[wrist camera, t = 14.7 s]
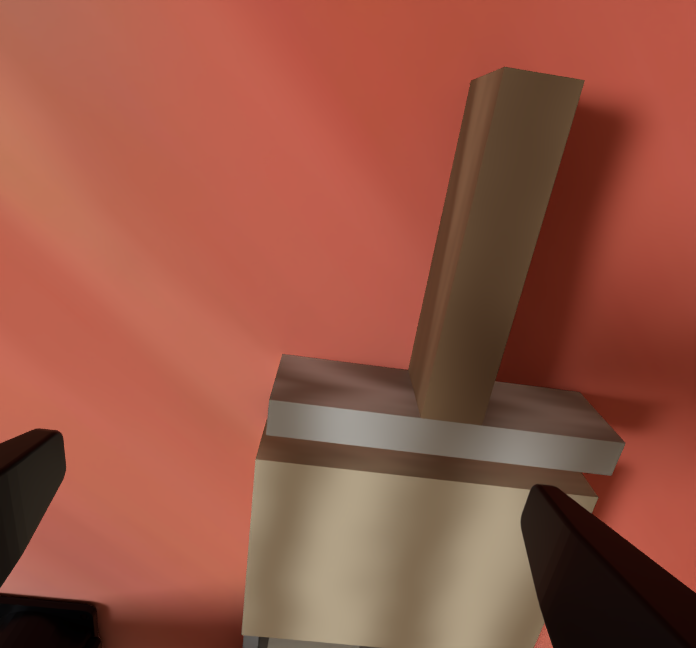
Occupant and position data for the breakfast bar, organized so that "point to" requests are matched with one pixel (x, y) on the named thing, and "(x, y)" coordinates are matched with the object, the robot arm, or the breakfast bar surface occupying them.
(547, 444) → the scraper
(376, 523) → the deck
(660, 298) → the breakfast bar surface
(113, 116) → the breakfast bar surface
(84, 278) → the breakfast bar surface
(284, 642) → the tile
